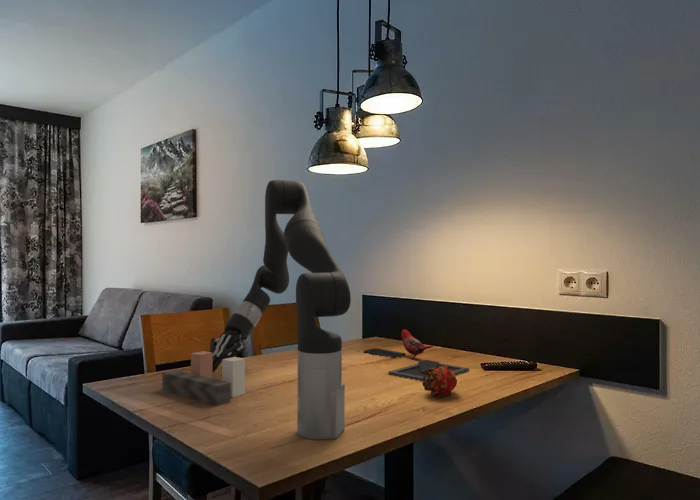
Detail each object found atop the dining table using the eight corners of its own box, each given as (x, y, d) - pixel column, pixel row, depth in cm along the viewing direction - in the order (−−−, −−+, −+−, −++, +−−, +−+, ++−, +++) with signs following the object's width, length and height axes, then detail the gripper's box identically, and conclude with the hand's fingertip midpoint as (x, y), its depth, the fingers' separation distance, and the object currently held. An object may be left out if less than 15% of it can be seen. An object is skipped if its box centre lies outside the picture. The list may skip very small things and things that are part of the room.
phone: (376, 348, 198) (406, 353, 187) (376, 351, 198) (406, 356, 187) (362, 350, 192) (393, 356, 181) (362, 353, 192) (393, 359, 181)
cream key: (244, 393, 131) (244, 358, 131) (232, 397, 127) (232, 361, 127) (234, 391, 133) (234, 356, 133) (222, 394, 130) (222, 359, 130)
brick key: (212, 385, 138) (212, 352, 138) (200, 389, 135) (200, 355, 135) (203, 383, 141) (203, 351, 141) (190, 386, 138) (190, 353, 138)
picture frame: (426, 365, 173) (388, 376, 157) (426, 359, 173) (388, 370, 157) (468, 373, 162) (432, 385, 147) (468, 366, 162) (432, 378, 147)
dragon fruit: (425, 406, 130) (446, 402, 140) (451, 390, 127) (471, 387, 136) (410, 376, 134) (431, 374, 143) (435, 360, 130) (455, 359, 140)
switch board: (265, 397, 132) (266, 373, 132) (216, 412, 120) (216, 386, 120) (209, 383, 146) (209, 362, 146) (159, 395, 133) (159, 372, 133)
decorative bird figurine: (403, 355, 187) (403, 328, 187) (436, 364, 172) (436, 334, 172) (397, 356, 186) (397, 328, 186) (430, 365, 171) (430, 335, 171)
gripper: (221, 310, 152) (186, 359, 142) (252, 314, 144) (217, 365, 134) (235, 326, 156) (202, 374, 146) (266, 330, 148) (233, 381, 138)
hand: (209, 370), depth 140 cm, fingers closed
